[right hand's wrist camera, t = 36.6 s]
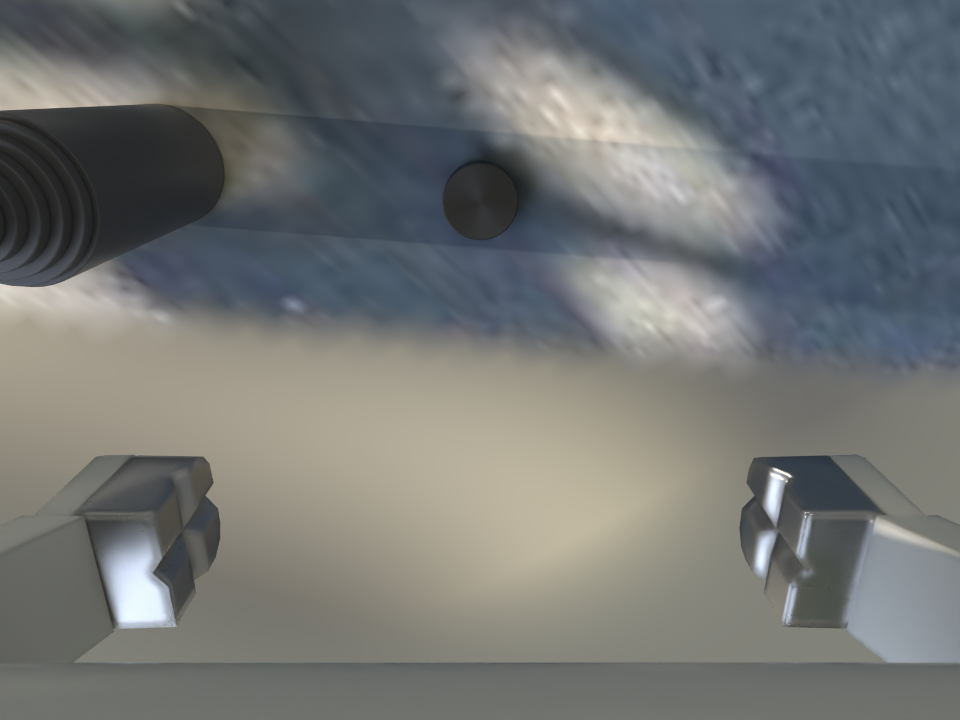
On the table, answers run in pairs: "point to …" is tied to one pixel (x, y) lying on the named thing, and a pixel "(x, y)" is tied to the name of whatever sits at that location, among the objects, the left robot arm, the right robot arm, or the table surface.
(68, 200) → the bottle
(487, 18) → the table surface
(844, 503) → the right robot arm
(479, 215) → the cap
